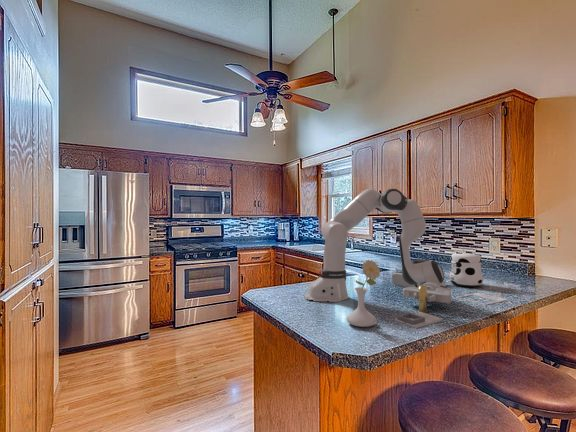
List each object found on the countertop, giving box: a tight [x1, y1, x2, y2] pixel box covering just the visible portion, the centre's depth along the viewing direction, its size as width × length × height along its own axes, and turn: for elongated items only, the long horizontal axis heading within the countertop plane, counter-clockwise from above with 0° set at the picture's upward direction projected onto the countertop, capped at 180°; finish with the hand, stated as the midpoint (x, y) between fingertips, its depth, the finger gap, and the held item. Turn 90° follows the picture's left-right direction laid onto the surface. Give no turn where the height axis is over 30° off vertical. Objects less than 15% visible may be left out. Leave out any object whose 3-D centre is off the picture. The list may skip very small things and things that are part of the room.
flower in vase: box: [345, 259, 381, 328], centre depth 119 cm, size 13×11×25 cm
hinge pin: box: [418, 285, 428, 314], centre depth 134 cm, size 3×3×11 cm
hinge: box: [391, 270, 420, 288], centre depth 182 cm, size 17×5×10 cm, turn 26°
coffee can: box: [412, 258, 431, 286], centre depth 191 cm, size 10×10×14 cm
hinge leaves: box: [394, 311, 443, 329], centre depth 123 cm, size 16×10×2 cm, turn 120°
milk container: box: [449, 253, 484, 288], centre depth 184 cm, size 17×17×18 cm
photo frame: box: [455, 292, 508, 306], centre depth 153 cm, size 15×1×18 cm
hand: (422, 298), depth 134 cm, fingers open, 4 cm apart
